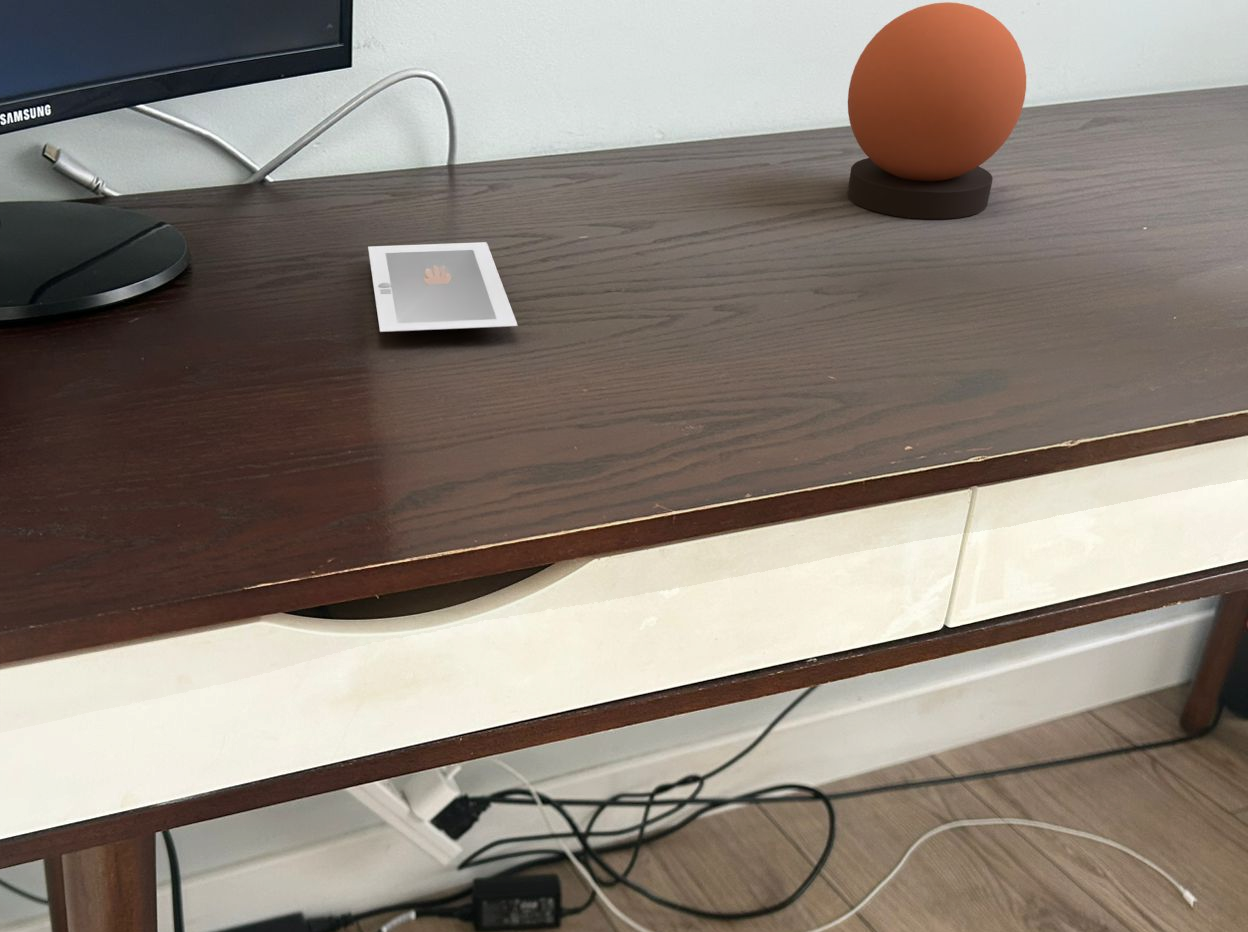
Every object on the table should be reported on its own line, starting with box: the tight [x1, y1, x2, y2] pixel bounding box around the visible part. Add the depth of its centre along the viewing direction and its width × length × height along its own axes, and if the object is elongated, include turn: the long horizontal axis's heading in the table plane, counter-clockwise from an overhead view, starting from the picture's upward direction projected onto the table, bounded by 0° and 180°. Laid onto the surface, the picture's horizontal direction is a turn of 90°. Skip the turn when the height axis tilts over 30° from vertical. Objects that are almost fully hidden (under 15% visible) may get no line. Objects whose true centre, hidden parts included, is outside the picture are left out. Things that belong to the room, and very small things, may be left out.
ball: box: [846, 1, 1027, 220], centre depth 98 cm, size 12×12×14 cm
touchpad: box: [367, 241, 519, 333], centre depth 84 cm, size 8×15×2 cm, turn 5°
